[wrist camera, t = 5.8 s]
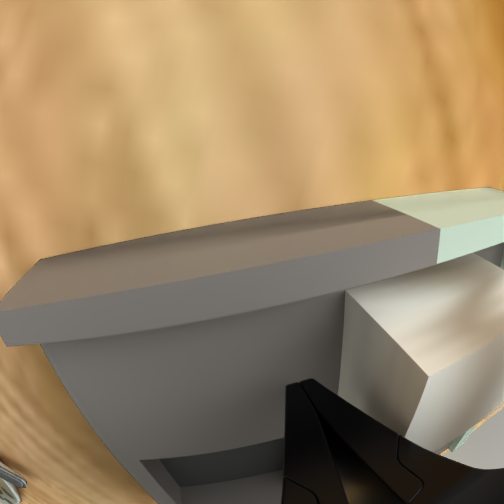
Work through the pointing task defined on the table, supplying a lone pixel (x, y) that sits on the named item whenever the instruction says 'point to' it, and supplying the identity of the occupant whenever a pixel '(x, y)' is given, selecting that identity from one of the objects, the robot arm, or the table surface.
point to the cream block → (427, 349)
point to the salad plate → (10, 485)
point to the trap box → (227, 329)
